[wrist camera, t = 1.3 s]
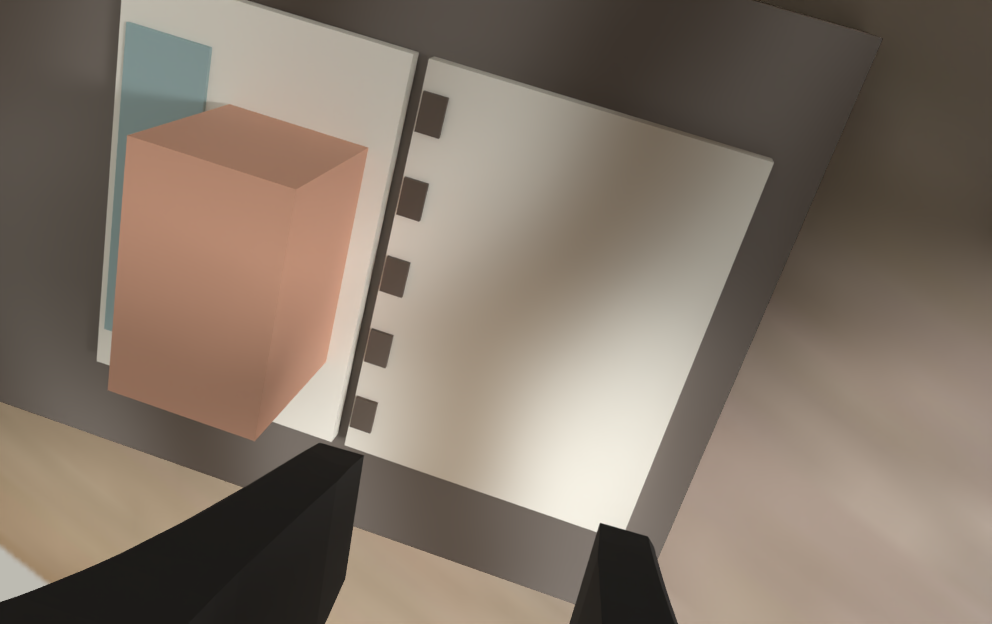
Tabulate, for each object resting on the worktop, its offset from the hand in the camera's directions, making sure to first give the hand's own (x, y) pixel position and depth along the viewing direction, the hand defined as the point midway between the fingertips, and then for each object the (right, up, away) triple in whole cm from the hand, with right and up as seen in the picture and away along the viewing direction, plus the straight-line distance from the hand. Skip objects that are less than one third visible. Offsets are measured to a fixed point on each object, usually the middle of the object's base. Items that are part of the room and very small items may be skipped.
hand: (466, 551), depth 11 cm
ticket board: (-5, +6, +9) cm, 12 cm away
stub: (-5, +5, +8) cm, 11 cm away
